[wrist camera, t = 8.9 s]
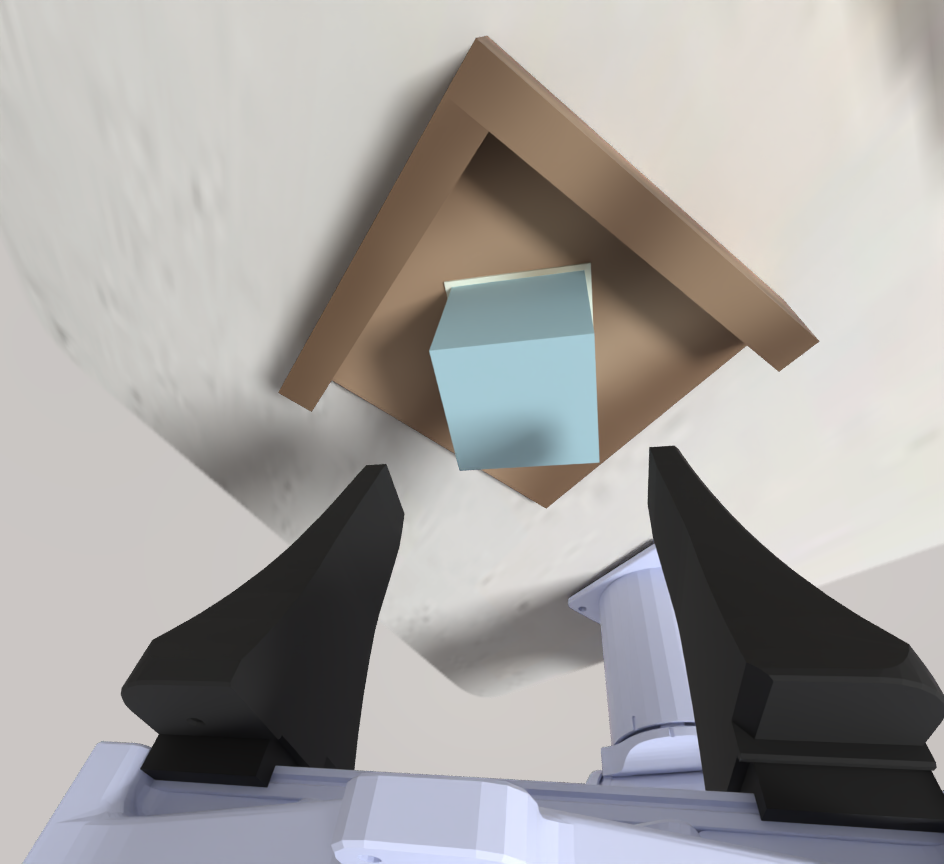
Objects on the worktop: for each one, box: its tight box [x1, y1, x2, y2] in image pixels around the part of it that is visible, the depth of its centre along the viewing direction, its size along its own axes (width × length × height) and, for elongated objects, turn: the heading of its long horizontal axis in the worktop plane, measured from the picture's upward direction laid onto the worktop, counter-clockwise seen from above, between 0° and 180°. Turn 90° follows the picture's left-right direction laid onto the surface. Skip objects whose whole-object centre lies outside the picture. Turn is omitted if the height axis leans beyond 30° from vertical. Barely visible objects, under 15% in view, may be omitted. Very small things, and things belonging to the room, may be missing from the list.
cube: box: [429, 270, 599, 471], centre depth 19 cm, size 5×5×5 cm
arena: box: [278, 36, 819, 508], centre depth 20 cm, size 14×14×3 cm
